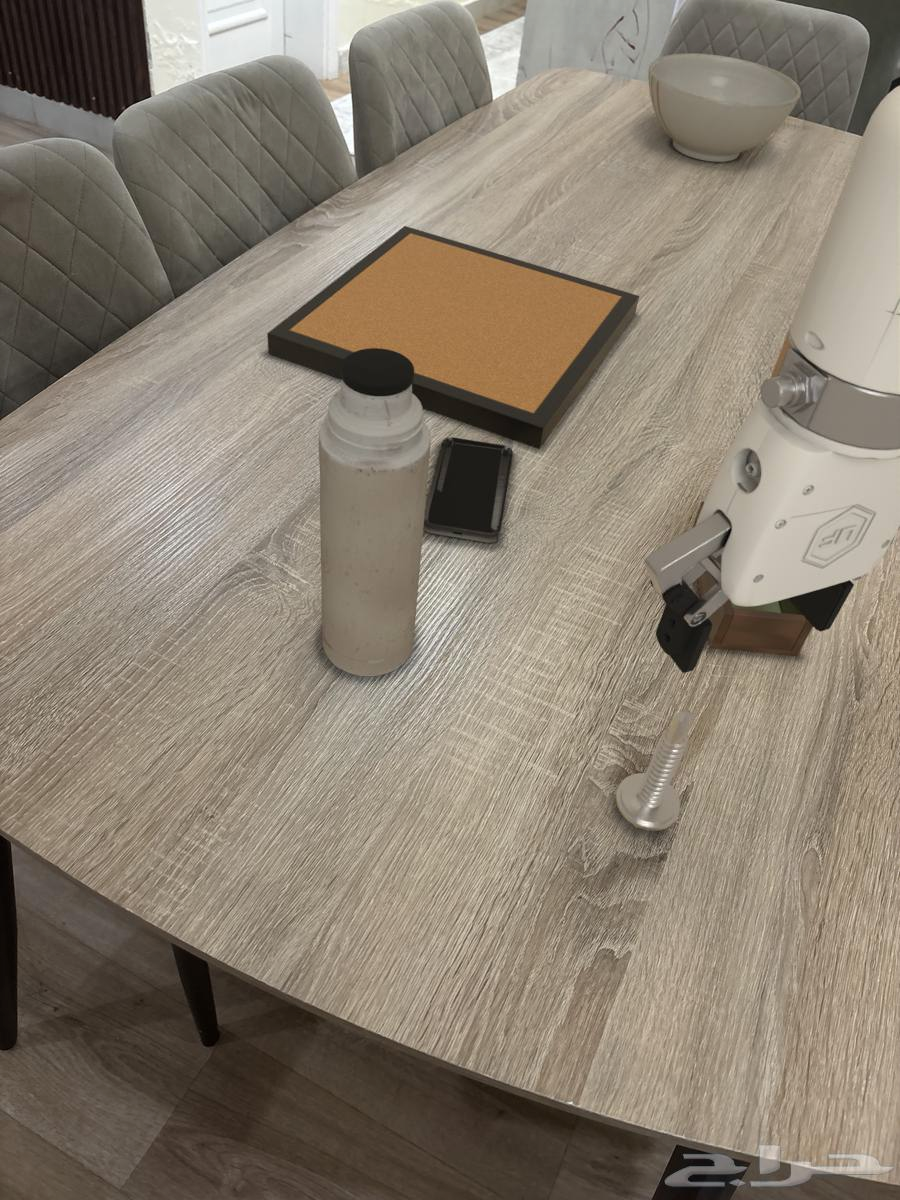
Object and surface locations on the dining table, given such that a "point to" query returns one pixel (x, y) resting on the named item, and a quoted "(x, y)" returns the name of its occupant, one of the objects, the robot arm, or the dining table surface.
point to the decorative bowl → (718, 103)
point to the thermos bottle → (372, 513)
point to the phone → (468, 490)
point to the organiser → (755, 623)
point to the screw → (656, 781)
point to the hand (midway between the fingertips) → (742, 633)
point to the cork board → (465, 330)
